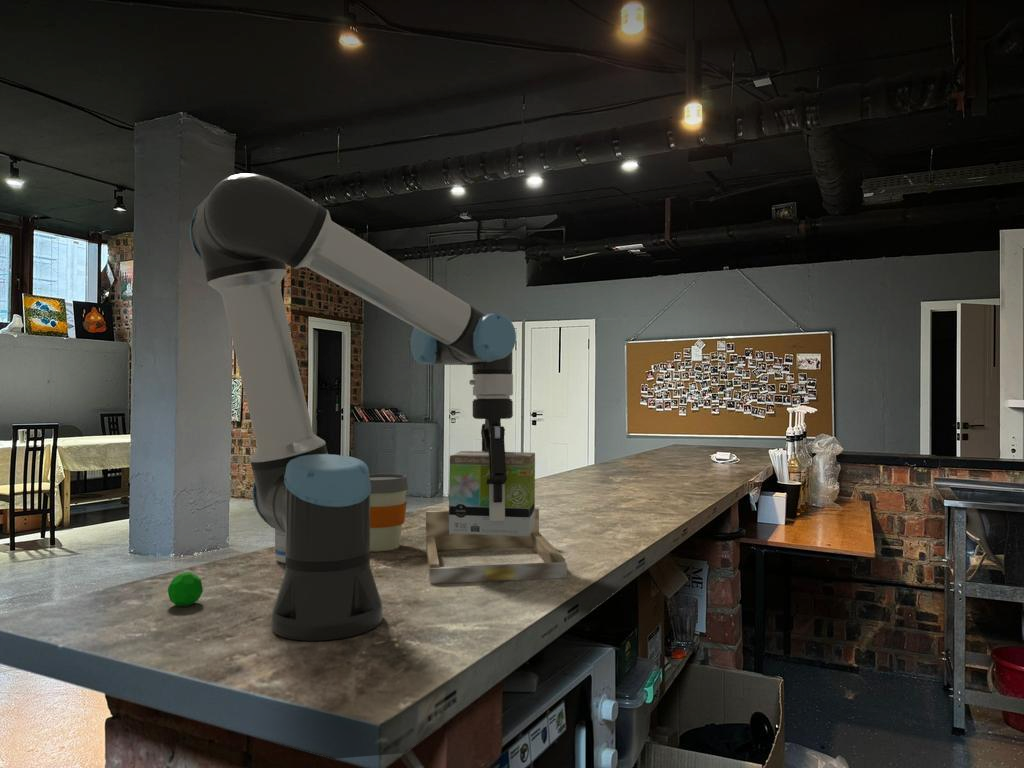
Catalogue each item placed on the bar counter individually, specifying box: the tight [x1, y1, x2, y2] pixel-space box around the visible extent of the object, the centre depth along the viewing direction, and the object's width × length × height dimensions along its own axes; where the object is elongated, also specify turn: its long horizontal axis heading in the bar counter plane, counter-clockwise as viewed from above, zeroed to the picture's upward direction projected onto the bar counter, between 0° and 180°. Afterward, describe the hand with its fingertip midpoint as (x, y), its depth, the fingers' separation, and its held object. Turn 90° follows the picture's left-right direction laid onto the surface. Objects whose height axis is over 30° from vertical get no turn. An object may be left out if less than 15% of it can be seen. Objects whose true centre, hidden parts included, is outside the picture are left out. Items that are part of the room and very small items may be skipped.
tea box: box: [448, 450, 536, 537], centre depth 131 cm, size 15×10×15 cm
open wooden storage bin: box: [425, 507, 568, 585], centre depth 136 cm, size 24×28×8 cm
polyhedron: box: [167, 572, 204, 607], centre depth 109 cm, size 5×5×5 cm
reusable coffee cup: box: [369, 473, 409, 552], centre depth 151 cm, size 13×13×15 cm
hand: (493, 515), depth 131 cm, fingers closed on tea box, 11 cm apart
